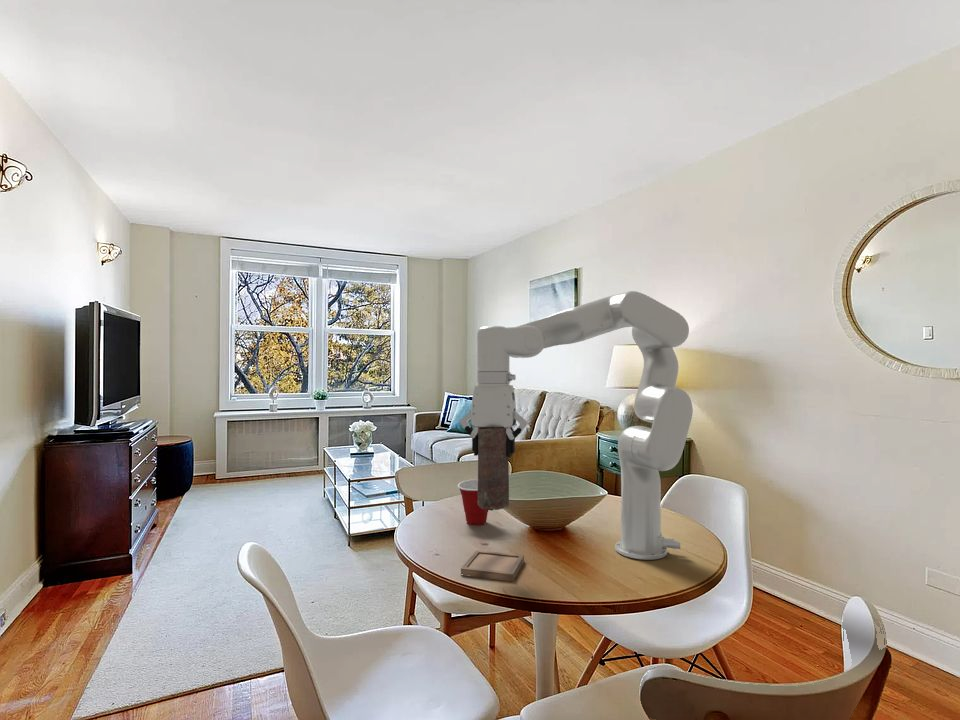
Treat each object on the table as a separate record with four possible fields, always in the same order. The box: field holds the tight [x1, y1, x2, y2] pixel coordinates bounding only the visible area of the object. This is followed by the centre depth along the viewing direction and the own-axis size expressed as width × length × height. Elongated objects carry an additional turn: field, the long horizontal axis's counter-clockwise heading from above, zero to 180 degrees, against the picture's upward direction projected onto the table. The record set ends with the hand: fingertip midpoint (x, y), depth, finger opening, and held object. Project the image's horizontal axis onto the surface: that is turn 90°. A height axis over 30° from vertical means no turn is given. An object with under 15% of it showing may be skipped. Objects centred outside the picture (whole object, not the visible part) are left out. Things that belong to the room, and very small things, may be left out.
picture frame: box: [460, 549, 525, 582], centre depth 124 cm, size 12×12×2 cm
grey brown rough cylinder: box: [477, 426, 510, 512], centre depth 124 cm, size 8×7×20 cm
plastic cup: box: [457, 478, 489, 527], centre depth 159 cm, size 11×11×12 cm
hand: (493, 454), depth 124 cm, fingers closed on grey brown rough cylinder, 7 cm apart
